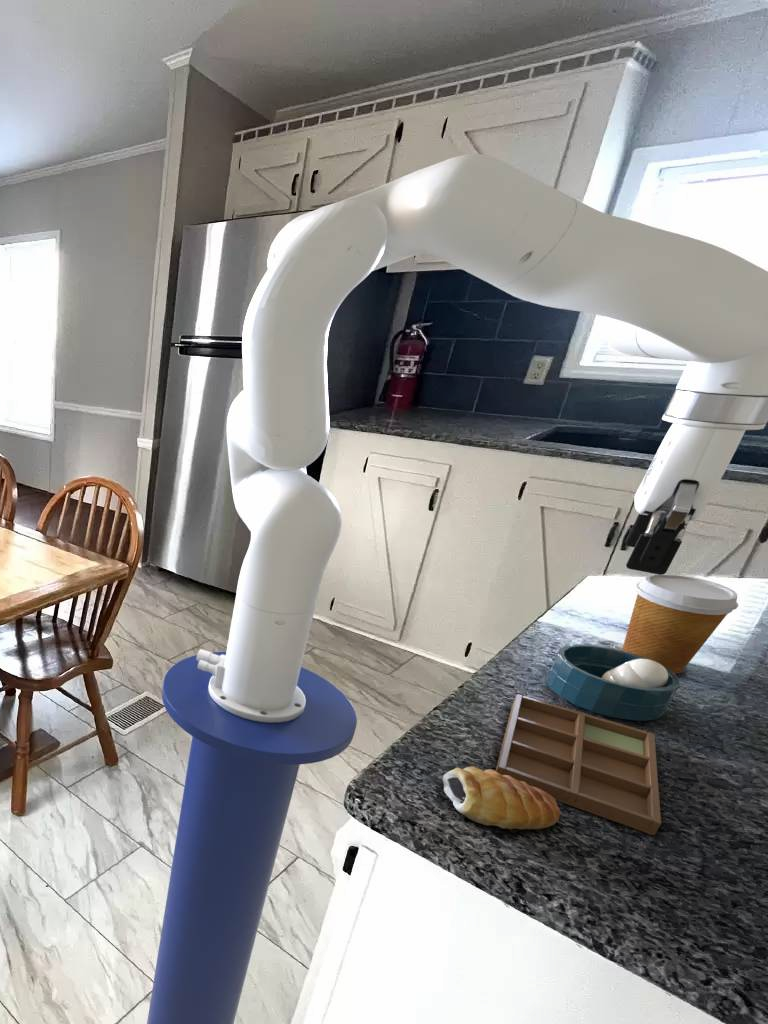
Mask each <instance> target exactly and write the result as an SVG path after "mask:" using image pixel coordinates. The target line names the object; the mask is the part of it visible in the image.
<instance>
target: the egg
mask: <svg viewBox="0 0 768 1024" xmlns="http://www.w3.org/2000/svg"><path fill="white" fill-rule="evenodd" d="M602 678H603V679H605V680H609V681H613V682H616V683H620V684H624V685H630V686H636V687H642V688H662V687H664V686H665V685H666V683H667V682H668V672H667V670H666V669H665V667H664V666H663V665H661V664H660V663H658V662H656V661H653V660H650V659H634V660H631V661H628V662H626V663H624V664H622V665H620V666H617V667H615V668H613V669H611V670H609V671H607V672H606V673H605V674H604V675H603V676H602Z"/></svg>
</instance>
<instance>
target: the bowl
mask: <svg viewBox="0 0 768 1024" xmlns="http://www.w3.org/2000/svg"><path fill="white" fill-rule="evenodd" d="M634 659H647V658H644V657H642V656H638V655H635V654H632V653H629V652H626V651H622V649H618V648H613V647H610V646H603V645H597V644H590V643H589V644H586V643H584V644H583V643H580V644H579V643H574V644H567V645H564V646H562V647H560V648H559V649H558V650H557V653H556V655H555V657H554V659H553V661H552V664H551V667H550V669H549V671H548V673H547V676H546V681H545V684H546V685H547V686H548V687H549V689H550V690H551V691H553V692H554V693H555V694H557V696H559V697H560V698H562V699H564V700H565V701H567V702H569V703H571V704H573V705H575V706H577V707H579V708H580V709H584V710H586V711H589V712H592V713H595V714H597V715H601V716H604V717H609V718H612V719H613V718H614V719H620V720H628V721H639V722H640V721H641V722H642V721H643V722H646V721H654V720H658V719H660V718H661V717H662V716H663V715H665V713H666V712H667V709H668V707H669V705H670V704H671V702H672V700H673V698H674V696H675V694H676V693H677V691H678V689H679V687H680V685H681V682H680V678H679V677H678V676H677V674H674V673H673V672H672V671H670V670H669V669H667V668H665V669H666V670H667V672H668V682H667V683H666V685H665V686H664V687H662V688H642V687H636V686H630V685H624V684H620V683H616V682H613V681H609V680H605V679H603V678H602V676H603V675H604V674H605V673H606V672H607V671H609V670H611V669H613V668H615V667H617V666H620V665H622V664H624V663H626V662H628V661H631V660H634Z"/></svg>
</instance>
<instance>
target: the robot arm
mask: <svg viewBox="0 0 768 1024" xmlns="http://www.w3.org/2000/svg"><path fill="white" fill-rule="evenodd" d="M425 255H429V256H433V257H435V258H438V259H439V260H442V261H443V262H445V263H448V264H450V265H452V266H454V267H456V268H457V269H460V270H462V271H465V272H466V273H468V274H470V275H472V276H474V277H476V278H478V279H480V280H482V281H484V282H486V283H488V284H489V285H492V286H493V287H495V288H497V289H499V290H501V291H502V292H505V293H506V294H508V295H511V297H514V298H517V299H520V300H522V301H525V302H529V303H533V304H537V305H540V306H544V307H548V308H552V309H559V310H566V311H575V312H581V313H586V314H592V315H597V316H601V317H603V319H602V322H601V333H602V337H603V339H604V341H605V342H606V343H607V344H608V345H609V346H610V348H612V349H614V350H615V351H616V352H620V353H622V354H626V355H629V356H633V357H640V358H650V359H657V360H658V359H660V360H674V361H682V362H683V361H684V362H687V364H686V366H685V367H684V370H683V371H682V374H681V376H680V378H679V381H678V383H677V384H676V388H675V389H674V391H673V394H672V396H671V398H670V400H669V401H668V405H667V406H666V409H665V411H664V413H663V415H662V417H661V420H662V421H664V422H668V423H672V424H671V425H670V427H669V429H668V430H667V432H666V434H665V436H664V438H663V439H662V440H661V443H660V445H659V447H658V448H657V451H656V453H655V454H654V456H653V459H652V461H651V463H650V464H649V467H648V469H647V471H646V473H645V475H644V477H643V478H642V481H641V482H640V484H639V486H638V488H637V490H636V492H635V494H634V498H633V499H634V503H633V504H634V509H635V511H636V512H637V513H638V515H637V516H636V518H635V521H634V523H633V525H632V527H631V528H630V532H629V534H628V536H627V537H626V540H625V545H626V547H630V548H633V550H632V552H631V554H630V556H629V558H628V560H627V562H626V563H625V566H626V568H627V569H628V570H634V571H638V572H644V573H648V574H659V575H663V574H667V572H668V570H669V568H670V566H671V564H672V563H673V560H674V558H675V556H676V554H677V553H678V551H679V549H680V547H681V545H682V543H683V541H682V539H683V538H684V536H685V533H686V530H687V528H688V524H689V522H692V521H694V520H697V519H699V518H700V516H701V515H702V514H703V512H704V511H705V509H706V507H707V505H708V503H709V502H710V500H711V499H712V497H713V495H714V493H715V491H716V489H717V487H718V486H719V484H720V482H721V480H722V478H723V476H724V474H725V473H726V470H727V468H728V467H729V465H730V463H731V461H732V459H733V457H734V455H735V453H736V451H737V449H738V447H739V445H740V443H741V441H742V439H743V437H744V435H745V433H746V431H759V430H764V429H765V427H766V426H767V423H768V270H766V269H764V268H762V267H760V266H758V265H756V264H755V263H753V262H751V261H749V260H748V259H745V258H743V257H742V256H740V255H738V254H736V253H733V252H731V251H729V250H727V249H725V248H722V247H719V246H718V245H715V244H712V243H709V242H706V241H704V240H700V239H698V238H694V237H691V236H687V235H683V234H680V233H677V232H672V231H669V230H664V229H661V228H658V227H656V226H655V227H654V226H651V225H648V224H645V223H641V222H639V221H637V220H632V219H629V218H625V217H619V216H615V215H612V214H609V213H605V212H602V211H600V210H598V209H595V208H593V207H592V206H589V205H588V204H585V203H584V202H582V201H580V200H578V199H576V198H574V197H573V196H570V195H568V194H566V193H564V192H562V191H560V190H559V189H556V188H554V187H553V186H551V185H549V184H547V183H545V182H543V181H542V180H540V179H537V178H535V177H533V176H531V175H530V174H528V173H526V172H524V171H523V170H520V169H519V168H517V167H515V166H513V165H510V164H509V163H507V162H505V161H503V160H500V159H499V158H496V157H494V156H492V155H487V154H482V153H467V154H462V155H457V156H453V157H451V158H447V159H445V160H442V161H440V162H437V163H434V164H432V165H429V166H426V167H423V168H420V169H417V170H415V171H413V172H411V173H408V174H406V175H403V176H401V177H399V178H396V179H394V180H392V181H389V182H387V183H385V184H382V185H380V186H377V187H375V188H371V189H370V190H367V191H364V192H362V193H359V194H356V195H353V196H350V197H347V198H345V199H342V200H340V201H336V202H334V203H330V204H327V205H323V206H321V207H319V208H317V209H315V210H312V211H308V212H306V213H303V214H300V215H299V216H296V217H295V218H293V219H292V220H291V221H288V223H286V224H285V226H284V227H282V228H281V229H280V230H279V232H278V233H277V235H276V236H275V237H274V240H273V241H272V243H271V245H270V248H269V251H268V255H267V271H266V272H265V274H264V275H263V277H262V279H261V280H260V282H259V284H258V285H257V287H256V290H255V292H254V294H253V296H252V298H251V301H250V303H249V304H248V305H249V306H248V308H247V312H246V315H245V318H244V323H243V329H242V339H241V340H242V341H241V354H242V357H241V358H242V383H243V385H242V386H243V390H241V391H240V392H239V393H238V394H237V396H236V397H235V398H234V400H233V401H232V403H231V405H230V408H229V411H228V413H227V418H226V443H227V454H228V455H227V456H228V465H229V474H230V484H231V491H232V498H233V503H234V507H235V510H236V513H237V514H238V516H239V517H240V519H241V520H242V522H243V523H244V524H245V526H246V527H247V529H248V530H249V531H250V542H249V545H248V549H247V551H246V554H245V556H244V558H243V562H242V564H241V568H240V571H239V576H238V580H237V587H236V592H235V594H236V595H235V600H234V605H233V612H232V617H231V622H230V628H229V634H228V640H227V645H226V650H225V652H226V655H223V654H222V655H220V656H219V655H216V654H213V653H211V652H212V651H208V650H205V649H203V648H200V649H199V650H198V651H197V654H196V655H197V657H196V660H197V661H199V663H198V666H197V668H198V669H200V670H203V671H207V672H210V673H212V675H213V676H212V677H211V679H210V681H209V686H208V689H209V694H210V696H211V697H212V699H213V700H214V701H215V702H216V703H217V704H218V705H219V706H220V707H222V708H223V709H225V710H226V711H228V712H230V713H232V714H234V715H237V716H239V717H242V718H245V719H249V720H253V721H258V722H267V723H279V722H286V721H290V720H292V719H295V718H297V717H298V716H300V715H301V714H302V713H303V711H304V708H305V703H306V699H305V695H304V694H303V692H302V691H301V690H300V689H299V688H298V687H297V682H298V678H299V674H300V670H301V667H302V665H303V661H304V657H305V653H306V649H307V644H308V640H309V635H310V631H311V628H312V627H311V626H312V623H313V619H314V614H315V610H316V604H317V601H318V598H319V597H318V596H319V593H320V588H321V586H322V585H321V584H322V581H323V577H324V575H325V571H326V568H327V566H328V564H329V560H330V559H331V557H332V554H333V552H334V550H335V548H336V545H337V544H338V540H339V538H340V535H341V530H342V524H343V523H342V512H341V509H340V506H339V504H338V501H337V500H336V498H335V497H334V495H333V494H332V492H331V491H329V490H328V489H327V487H326V486H324V485H322V484H321V483H320V482H319V481H317V480H316V479H315V478H313V477H312V476H310V475H308V473H307V467H308V466H309V465H311V464H312V463H314V462H315V461H316V460H317V459H318V458H319V457H320V456H321V455H322V453H323V451H324V450H325V448H326V446H327V443H328V441H329V436H330V430H331V429H330V427H331V425H330V424H331V423H330V407H329V406H330V405H329V389H328V388H329V386H328V385H329V384H328V365H327V364H328V363H327V361H328V340H329V332H330V328H331V325H332V321H333V319H334V317H335V315H336V312H337V310H338V309H339V308H340V306H341V305H342V303H343V302H344V300H345V299H346V298H347V297H348V296H349V294H350V293H351V292H352V291H353V290H354V289H355V288H356V287H357V286H358V285H360V283H362V282H363V281H364V280H365V279H366V278H367V277H368V276H369V275H370V274H371V273H372V272H374V271H377V270H379V269H382V268H385V267H388V266H390V265H393V264H395V263H399V262H401V261H404V260H407V259H409V258H412V257H417V256H425Z"/></svg>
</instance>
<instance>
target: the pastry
mask: <svg viewBox="0 0 768 1024" xmlns="http://www.w3.org/2000/svg"><path fill="white" fill-rule="evenodd" d="M441 779H442V782H443V791H444V793H445V795H446V796H447V797H448V798H449V800H450V801H451V802H452V805H453V806H454V808H455V810H456V811H457V812H459V813H460V814H461V815H463V816H464V817H467V818H468V819H469V820H471V821H472V822H475V823H478V824H481V825H484V826H486V827H487V826H496V827H499V829H508V830H514V829H516V830H521V831H522V830H528V831H529V830H539V829H546V828H549V827H551V826H554V825H555V824H557V822H558V821H559V820H560V815H561V809H560V808H559V806H558V804H557V801H556V800H555V798H553V797H552V796H550V795H549V794H547V793H546V792H544V791H543V790H541V789H539V788H536V787H533V786H529V785H528V784H527V783H526V782H523V781H518V780H516V779H514V778H512V777H511V776H509V775H501V774H499V773H498V772H496V770H494V769H491V768H490V769H489V768H488V769H483V770H482V769H480V768H478V767H476V766H474V765H471V766H466V767H464V768H460V767H455V768H454V769H451V770H448V772H446V773H444V774H443V776H442V778H441Z"/></svg>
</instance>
